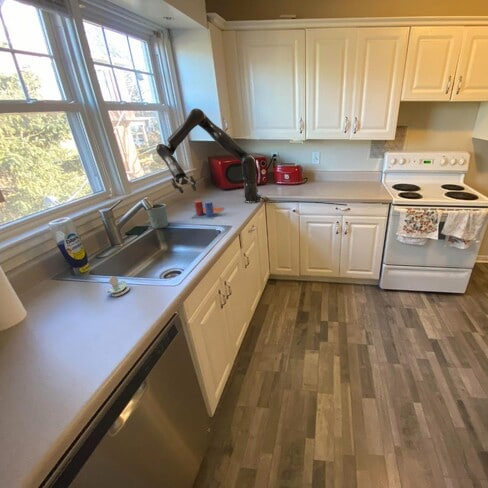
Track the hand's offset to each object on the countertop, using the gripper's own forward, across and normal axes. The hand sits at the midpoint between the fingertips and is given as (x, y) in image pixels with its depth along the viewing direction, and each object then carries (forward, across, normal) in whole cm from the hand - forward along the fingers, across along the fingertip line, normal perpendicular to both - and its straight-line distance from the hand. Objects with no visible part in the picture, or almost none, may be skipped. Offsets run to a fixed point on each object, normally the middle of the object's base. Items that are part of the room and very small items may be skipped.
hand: (189, 191), depth 180 cm
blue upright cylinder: (+21, +3, -1) cm, 21 cm away
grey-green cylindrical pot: (+16, -25, +4) cm, 30 cm away
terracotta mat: (+14, +12, +6) cm, 19 cm away
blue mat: (+19, +1, +1) cm, 19 cm away
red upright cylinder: (+16, 0, +3) cm, 17 cm away
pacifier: (+56, -67, -35) cm, 94 cm away
